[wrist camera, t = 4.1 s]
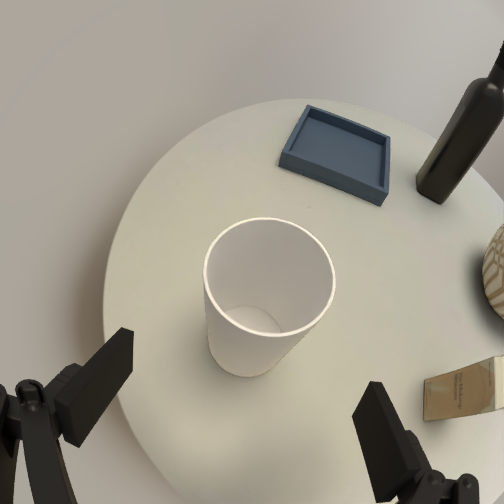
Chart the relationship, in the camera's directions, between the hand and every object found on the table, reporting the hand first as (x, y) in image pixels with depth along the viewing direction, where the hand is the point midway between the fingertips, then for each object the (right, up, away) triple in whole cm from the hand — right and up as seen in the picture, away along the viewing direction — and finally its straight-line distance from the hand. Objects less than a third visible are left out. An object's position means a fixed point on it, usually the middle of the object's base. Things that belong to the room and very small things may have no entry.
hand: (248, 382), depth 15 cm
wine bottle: (+30, +17, +29) cm, 46 cm away
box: (+21, -10, +11) cm, 26 cm away
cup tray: (+14, +22, +30) cm, 40 cm away
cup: (0, -2, +13) cm, 14 cm away
